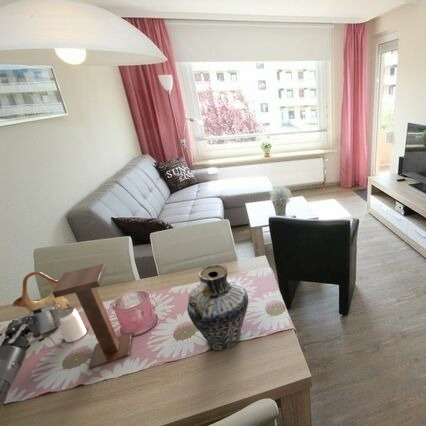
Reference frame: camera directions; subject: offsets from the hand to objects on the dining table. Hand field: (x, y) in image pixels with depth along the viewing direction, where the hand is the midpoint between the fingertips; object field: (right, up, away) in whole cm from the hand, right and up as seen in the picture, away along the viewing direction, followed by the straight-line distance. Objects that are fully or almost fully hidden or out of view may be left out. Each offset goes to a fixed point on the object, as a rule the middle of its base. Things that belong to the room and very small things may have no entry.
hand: (22, 320), depth 82 cm
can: (-8, -17, +29) cm, 34 cm away
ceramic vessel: (-22, -15, +35) cm, 44 cm away
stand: (+11, -19, +21) cm, 31 cm away
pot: (0, -6, +3) cm, 7 cm away
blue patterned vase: (+50, -16, +23) cm, 58 cm away
